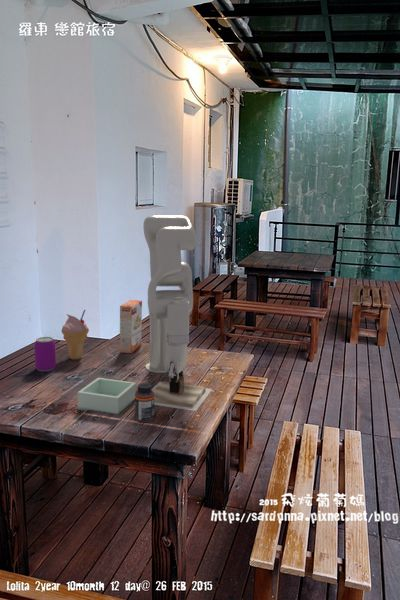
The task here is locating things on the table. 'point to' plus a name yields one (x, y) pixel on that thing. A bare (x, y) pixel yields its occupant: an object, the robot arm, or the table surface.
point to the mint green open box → (106, 395)
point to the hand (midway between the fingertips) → (176, 389)
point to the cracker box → (130, 326)
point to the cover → (178, 394)
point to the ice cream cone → (75, 335)
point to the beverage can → (45, 354)
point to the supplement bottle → (144, 403)
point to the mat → (184, 406)
